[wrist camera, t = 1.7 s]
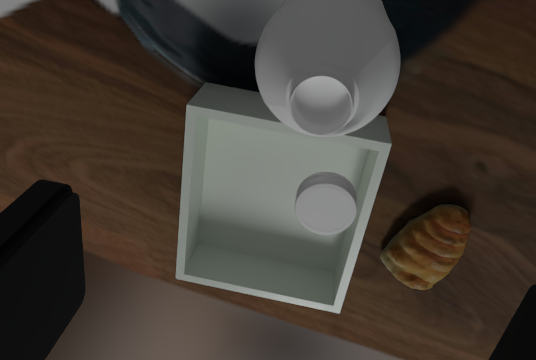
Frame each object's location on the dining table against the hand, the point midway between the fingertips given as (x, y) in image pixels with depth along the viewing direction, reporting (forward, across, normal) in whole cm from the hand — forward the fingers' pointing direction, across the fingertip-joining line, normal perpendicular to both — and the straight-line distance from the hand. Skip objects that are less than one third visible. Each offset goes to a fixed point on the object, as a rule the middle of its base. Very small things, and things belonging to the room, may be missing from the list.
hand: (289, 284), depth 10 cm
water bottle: (+33, -1, 0) cm, 33 cm away
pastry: (+33, -14, +20) cm, 42 cm away
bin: (+33, +1, +17) cm, 37 cm away
